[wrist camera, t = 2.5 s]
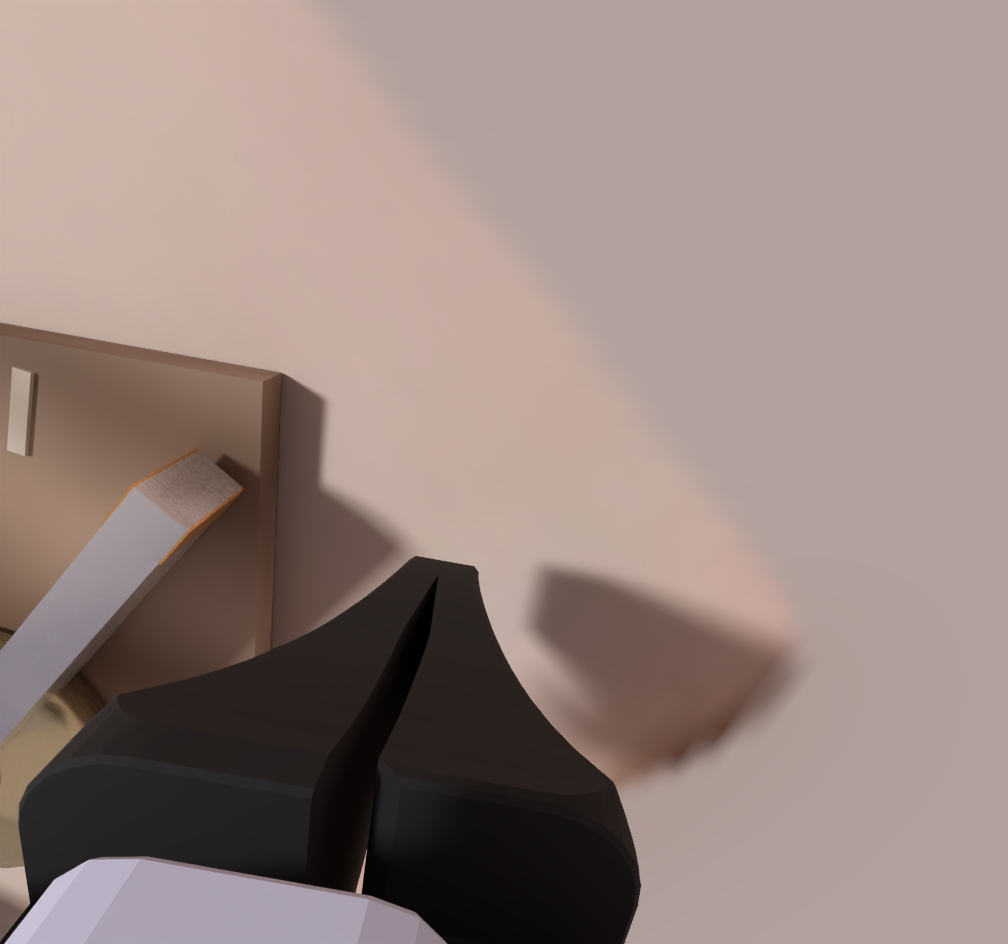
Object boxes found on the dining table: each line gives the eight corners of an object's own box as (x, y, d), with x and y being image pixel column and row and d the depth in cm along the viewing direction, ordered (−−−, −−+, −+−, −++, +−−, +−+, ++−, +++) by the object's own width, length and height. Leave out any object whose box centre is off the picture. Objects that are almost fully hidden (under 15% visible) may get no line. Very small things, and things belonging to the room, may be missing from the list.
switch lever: (42, 863, 18) (-29, 951, 16) (-177, 726, 17) (-290, 800, 14) (346, 567, 14) (309, 627, 12) (90, 352, 13) (-8, 373, 10)
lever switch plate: (261, 863, 19) (246, 898, 18) (-110, 799, 19) (-147, 830, 18) (281, 372, 14) (260, 382, 13) (-240, 280, 14) (-304, 281, 13)
